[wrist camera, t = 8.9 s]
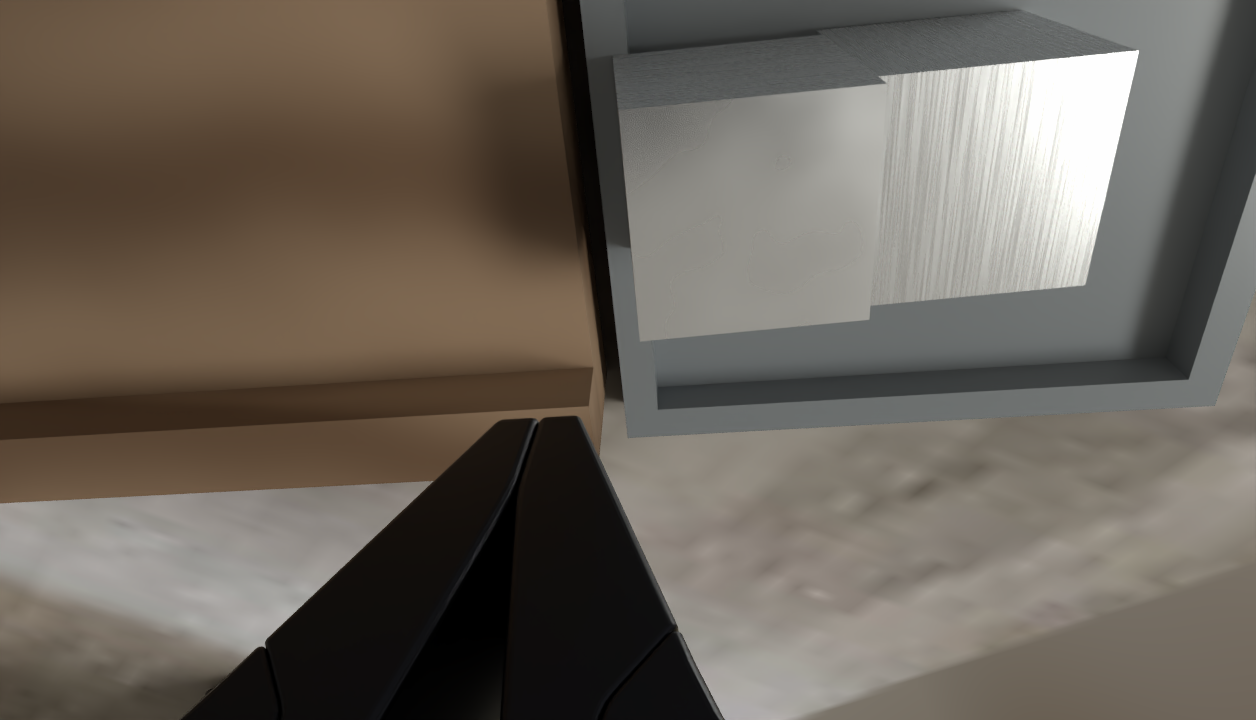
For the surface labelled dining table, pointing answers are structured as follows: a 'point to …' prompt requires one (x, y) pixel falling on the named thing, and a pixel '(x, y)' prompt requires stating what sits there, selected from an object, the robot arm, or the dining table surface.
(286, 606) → the dining table surface
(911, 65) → the grey metal cube
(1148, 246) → the tray
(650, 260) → the brushed metal block
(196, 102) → the slot block
